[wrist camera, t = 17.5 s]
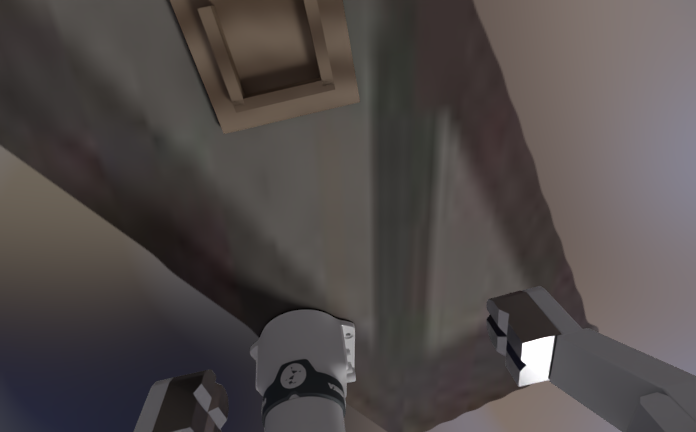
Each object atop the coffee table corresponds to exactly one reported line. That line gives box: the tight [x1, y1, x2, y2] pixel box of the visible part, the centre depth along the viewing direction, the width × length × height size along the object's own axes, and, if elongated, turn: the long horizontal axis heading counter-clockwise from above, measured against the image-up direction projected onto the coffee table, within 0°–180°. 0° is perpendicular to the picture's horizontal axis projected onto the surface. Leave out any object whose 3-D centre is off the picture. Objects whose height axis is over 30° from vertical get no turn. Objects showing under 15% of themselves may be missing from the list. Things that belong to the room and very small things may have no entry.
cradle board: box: [170, 0, 360, 134], centre depth 33 cm, size 22×16×3 cm
